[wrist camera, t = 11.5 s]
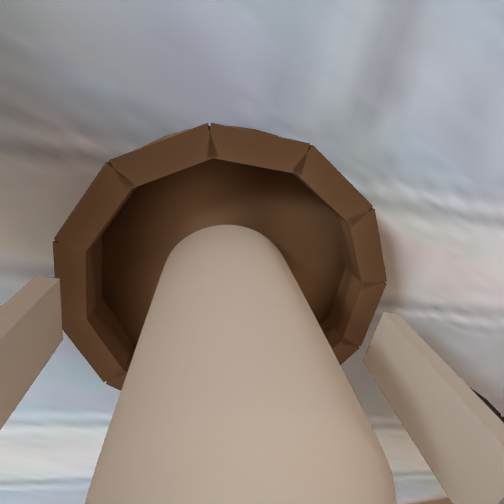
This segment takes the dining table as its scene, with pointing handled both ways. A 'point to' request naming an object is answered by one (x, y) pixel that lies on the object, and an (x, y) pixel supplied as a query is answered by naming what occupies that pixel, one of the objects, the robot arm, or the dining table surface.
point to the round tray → (206, 215)
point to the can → (236, 392)
